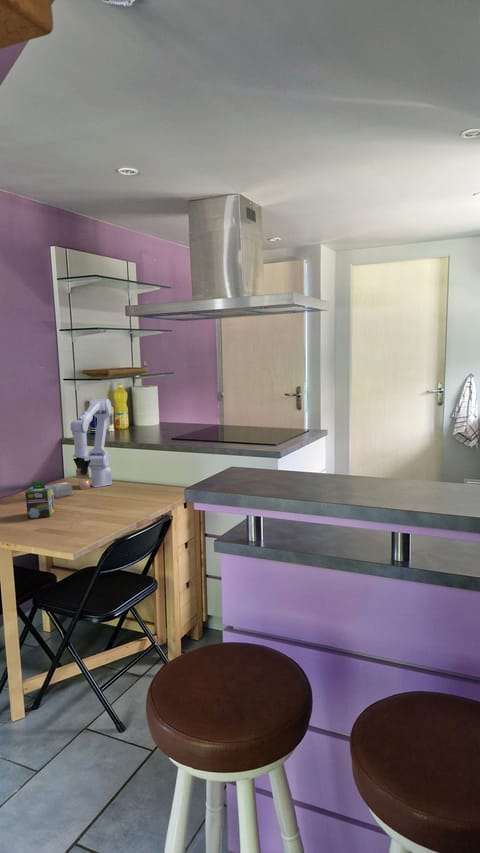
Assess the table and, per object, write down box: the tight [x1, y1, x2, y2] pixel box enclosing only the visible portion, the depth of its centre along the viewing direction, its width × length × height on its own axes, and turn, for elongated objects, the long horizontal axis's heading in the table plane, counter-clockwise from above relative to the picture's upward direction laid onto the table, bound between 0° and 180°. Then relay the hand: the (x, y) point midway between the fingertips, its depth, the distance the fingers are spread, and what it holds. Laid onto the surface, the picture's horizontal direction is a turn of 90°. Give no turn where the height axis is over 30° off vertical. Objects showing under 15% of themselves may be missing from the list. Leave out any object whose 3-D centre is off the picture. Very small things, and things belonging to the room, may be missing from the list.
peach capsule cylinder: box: [78, 478, 91, 490], centre depth 268 cm, size 5×5×4 cm
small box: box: [52, 481, 73, 498], centre depth 257 cm, size 8×8×5 cm
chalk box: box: [24, 480, 56, 519], centre depth 224 cm, size 9×9×15 cm
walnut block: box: [75, 468, 90, 480], centre depth 256 cm, size 4×4×4 cm
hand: (82, 473), depth 256 cm, fingers closed on walnut block, 4 cm apart
